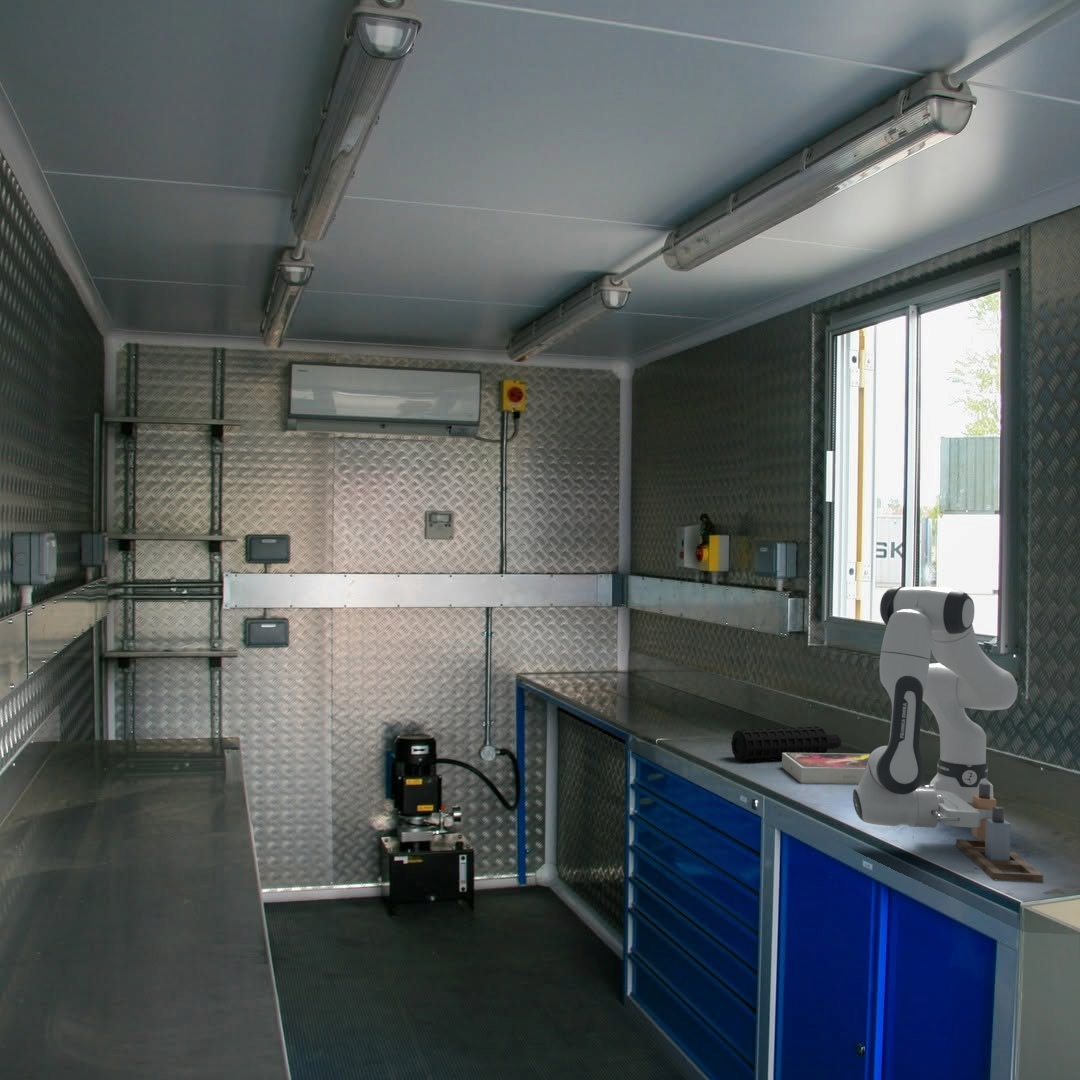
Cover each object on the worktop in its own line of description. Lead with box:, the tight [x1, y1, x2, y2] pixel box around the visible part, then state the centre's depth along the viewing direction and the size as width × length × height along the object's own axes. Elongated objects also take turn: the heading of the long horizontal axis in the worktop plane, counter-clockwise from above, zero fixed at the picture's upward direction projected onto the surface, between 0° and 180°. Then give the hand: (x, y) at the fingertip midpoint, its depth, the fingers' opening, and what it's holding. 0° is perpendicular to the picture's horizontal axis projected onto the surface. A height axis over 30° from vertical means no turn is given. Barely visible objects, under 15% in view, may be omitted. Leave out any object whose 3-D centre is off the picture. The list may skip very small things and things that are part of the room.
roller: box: [730, 726, 842, 763], centre depth 353 cm, size 38×10×10 cm, turn 110°
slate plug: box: [984, 805, 1011, 861], centre depth 241 cm, size 4×4×12 cm
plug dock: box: [955, 838, 1044, 883], centre depth 241 cm, size 26×10×2 cm, turn 176°
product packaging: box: [781, 752, 871, 785], centre depth 328 cm, size 22×28×5 cm
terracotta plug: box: [971, 783, 997, 840], centre depth 250 cm, size 4×4×12 cm
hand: (988, 810), depth 250 cm, fingers closed on terracotta plug, 4 cm apart
